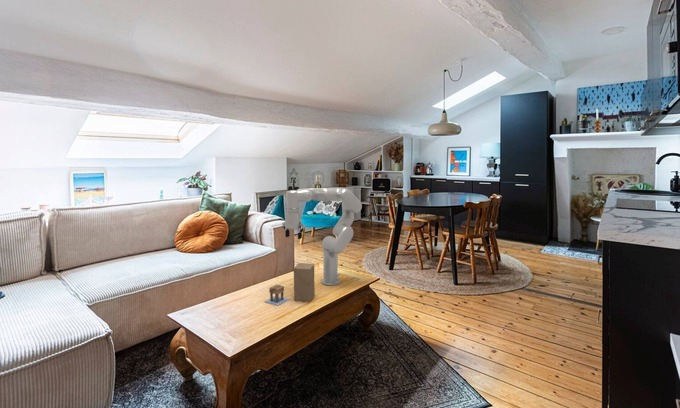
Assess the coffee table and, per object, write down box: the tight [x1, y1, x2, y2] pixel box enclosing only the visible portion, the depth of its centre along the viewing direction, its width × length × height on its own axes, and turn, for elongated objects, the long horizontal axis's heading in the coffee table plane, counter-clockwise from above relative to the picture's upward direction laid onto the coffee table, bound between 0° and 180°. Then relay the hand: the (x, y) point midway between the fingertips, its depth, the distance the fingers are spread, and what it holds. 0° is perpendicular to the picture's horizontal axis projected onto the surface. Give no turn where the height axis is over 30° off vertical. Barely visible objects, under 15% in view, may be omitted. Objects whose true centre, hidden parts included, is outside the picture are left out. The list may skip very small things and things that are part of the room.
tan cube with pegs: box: [268, 283, 285, 303], centre depth 203 cm, size 6×6×8 cm
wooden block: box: [293, 262, 316, 302], centre depth 207 cm, size 10×10×20 cm
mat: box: [264, 295, 290, 307], centre depth 204 cm, size 10×10×1 cm
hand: (293, 237), depth 215 cm, fingers open, 9 cm apart
